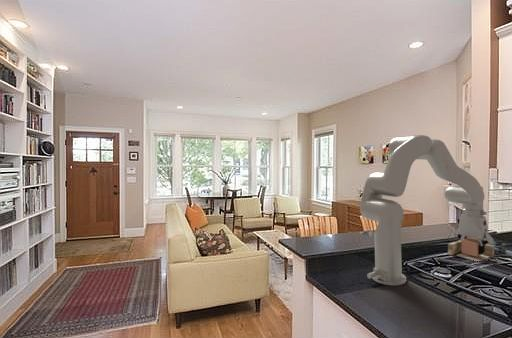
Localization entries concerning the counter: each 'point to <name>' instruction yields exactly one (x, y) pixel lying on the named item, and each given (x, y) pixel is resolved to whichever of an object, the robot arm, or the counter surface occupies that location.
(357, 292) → the counter surface
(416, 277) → the counter surface
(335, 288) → the counter surface
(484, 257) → the tan box
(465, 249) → the cube
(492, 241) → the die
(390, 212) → the robot arm
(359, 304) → the counter surface
